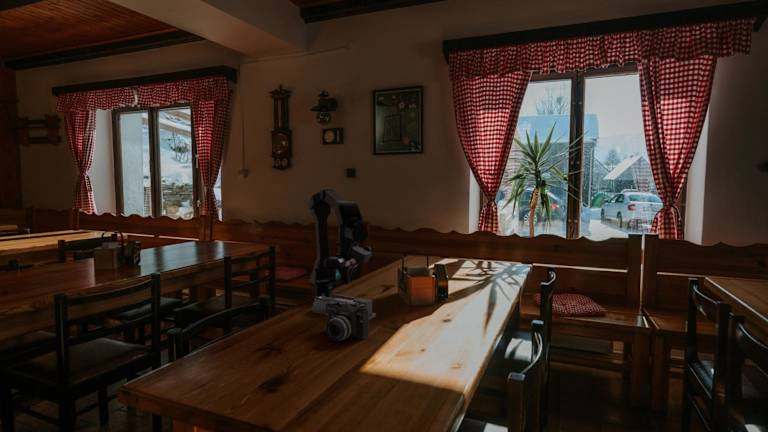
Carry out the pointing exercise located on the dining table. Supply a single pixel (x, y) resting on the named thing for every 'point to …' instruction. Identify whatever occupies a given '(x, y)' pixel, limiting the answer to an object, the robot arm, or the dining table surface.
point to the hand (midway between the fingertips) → (346, 284)
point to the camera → (346, 320)
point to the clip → (365, 303)
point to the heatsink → (320, 304)
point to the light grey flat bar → (335, 299)
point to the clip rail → (371, 316)
